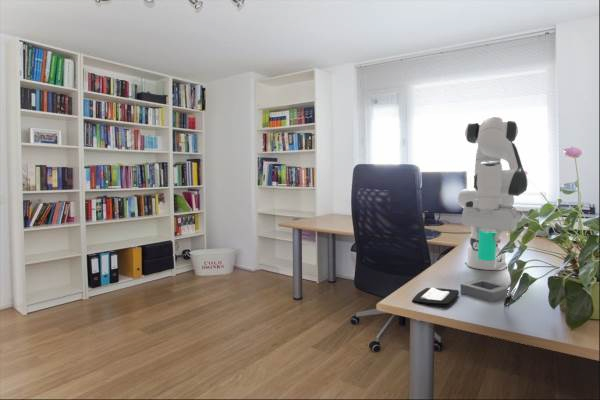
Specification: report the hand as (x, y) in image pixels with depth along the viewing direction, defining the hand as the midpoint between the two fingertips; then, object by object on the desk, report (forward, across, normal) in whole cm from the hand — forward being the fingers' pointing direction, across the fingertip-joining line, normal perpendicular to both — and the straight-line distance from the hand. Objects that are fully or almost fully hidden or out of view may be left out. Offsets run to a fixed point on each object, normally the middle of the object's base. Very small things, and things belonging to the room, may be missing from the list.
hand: (487, 239), depth 145 cm
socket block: (+21, 0, 0) cm, 21 cm away
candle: (+8, 0, 0) cm, 8 cm away
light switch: (+22, +8, +20) cm, 31 cm away
